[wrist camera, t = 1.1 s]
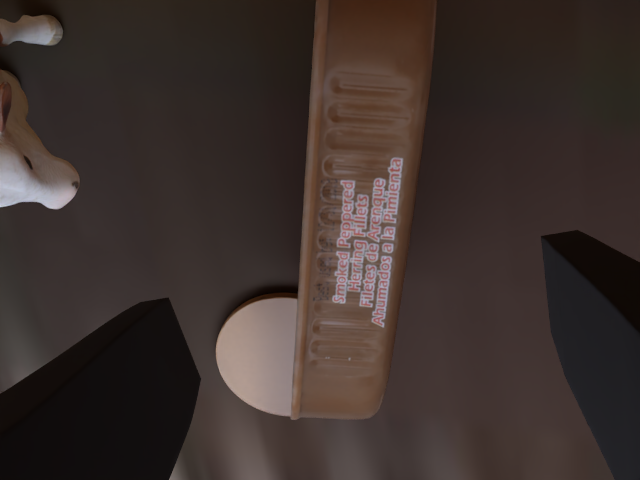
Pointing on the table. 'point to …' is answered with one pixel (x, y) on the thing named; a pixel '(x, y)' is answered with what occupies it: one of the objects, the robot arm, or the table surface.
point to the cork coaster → (260, 351)
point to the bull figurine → (29, 130)
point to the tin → (358, 198)
